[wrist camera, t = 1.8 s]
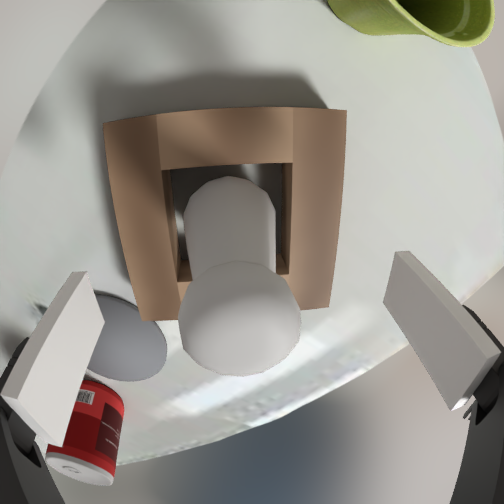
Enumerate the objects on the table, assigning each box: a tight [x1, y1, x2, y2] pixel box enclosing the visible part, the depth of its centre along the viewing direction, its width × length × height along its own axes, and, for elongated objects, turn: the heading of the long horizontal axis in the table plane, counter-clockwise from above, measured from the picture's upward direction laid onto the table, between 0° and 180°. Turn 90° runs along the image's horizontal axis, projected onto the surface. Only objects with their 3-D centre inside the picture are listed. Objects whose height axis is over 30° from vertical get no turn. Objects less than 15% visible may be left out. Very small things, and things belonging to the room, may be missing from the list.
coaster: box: [87, 295, 167, 381], centre depth 25 cm, size 11×11×1 cm
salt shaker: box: [178, 176, 301, 376], centre depth 15 cm, size 6×6×13 cm
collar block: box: [103, 107, 347, 321], centre depth 19 cm, size 14×14×3 cm
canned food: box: [45, 380, 124, 486], centre depth 25 cm, size 8×8×11 cm
